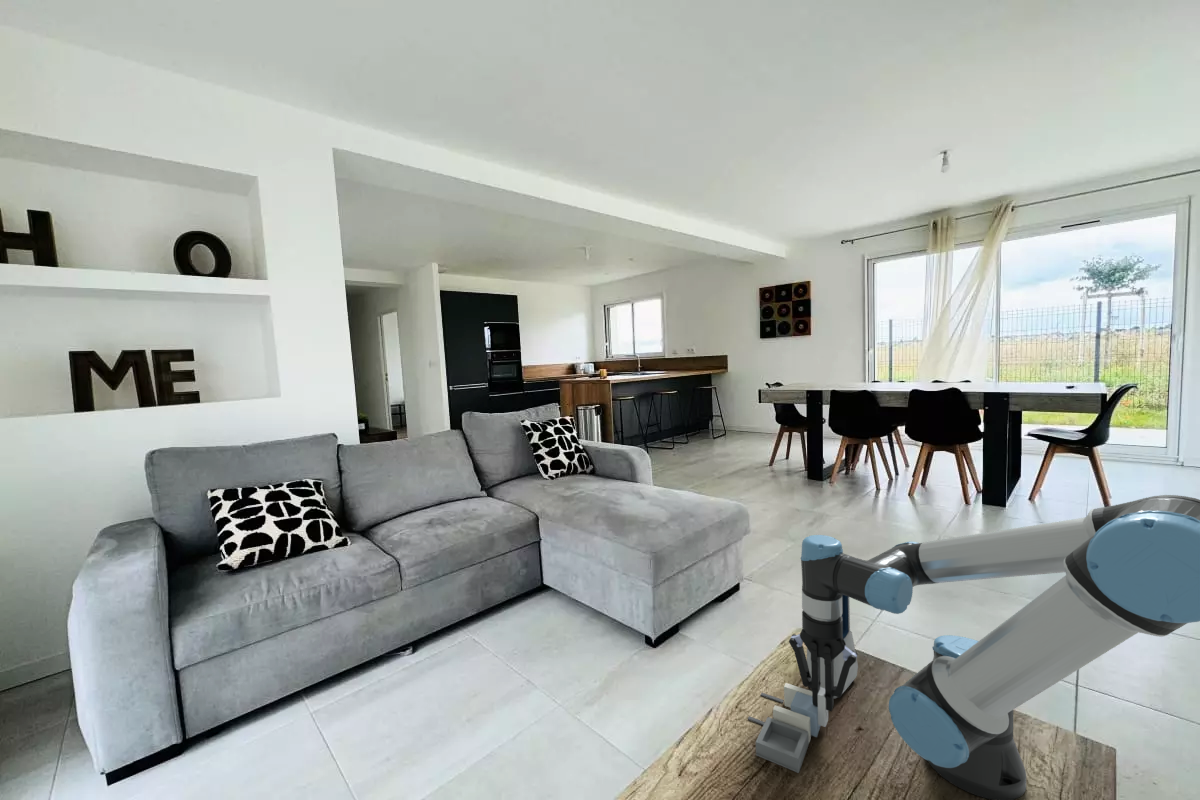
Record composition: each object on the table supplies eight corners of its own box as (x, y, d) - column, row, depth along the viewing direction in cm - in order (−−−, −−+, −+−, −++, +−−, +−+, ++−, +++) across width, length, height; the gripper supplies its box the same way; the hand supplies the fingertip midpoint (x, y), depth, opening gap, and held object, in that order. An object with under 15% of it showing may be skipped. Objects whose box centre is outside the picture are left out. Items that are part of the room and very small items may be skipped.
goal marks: (783, 701, 110) (783, 700, 110) (771, 728, 102) (771, 727, 102) (761, 693, 113) (761, 692, 113) (747, 719, 105) (747, 718, 105)
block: (822, 722, 103) (821, 699, 103) (816, 737, 99) (816, 713, 99) (797, 713, 106) (796, 691, 106) (791, 727, 102) (790, 705, 102)
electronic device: (827, 665, 122) (824, 548, 120) (859, 678, 117) (857, 556, 115) (805, 688, 114) (802, 564, 112) (838, 703, 108) (835, 573, 107)
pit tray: (808, 744, 97) (808, 731, 97) (798, 773, 91) (798, 758, 91) (768, 729, 102) (767, 716, 102) (756, 755, 96) (755, 741, 95)
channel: (819, 713, 106) (819, 693, 106) (809, 743, 98) (808, 722, 98) (786, 701, 110) (785, 682, 110) (773, 729, 102) (772, 709, 102)
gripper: (860, 612, 98) (861, 722, 100) (793, 597, 106) (795, 699, 108) (854, 630, 92) (855, 747, 94) (784, 612, 100) (785, 720, 102)
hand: (823, 721), depth 101 cm, fingers closed
